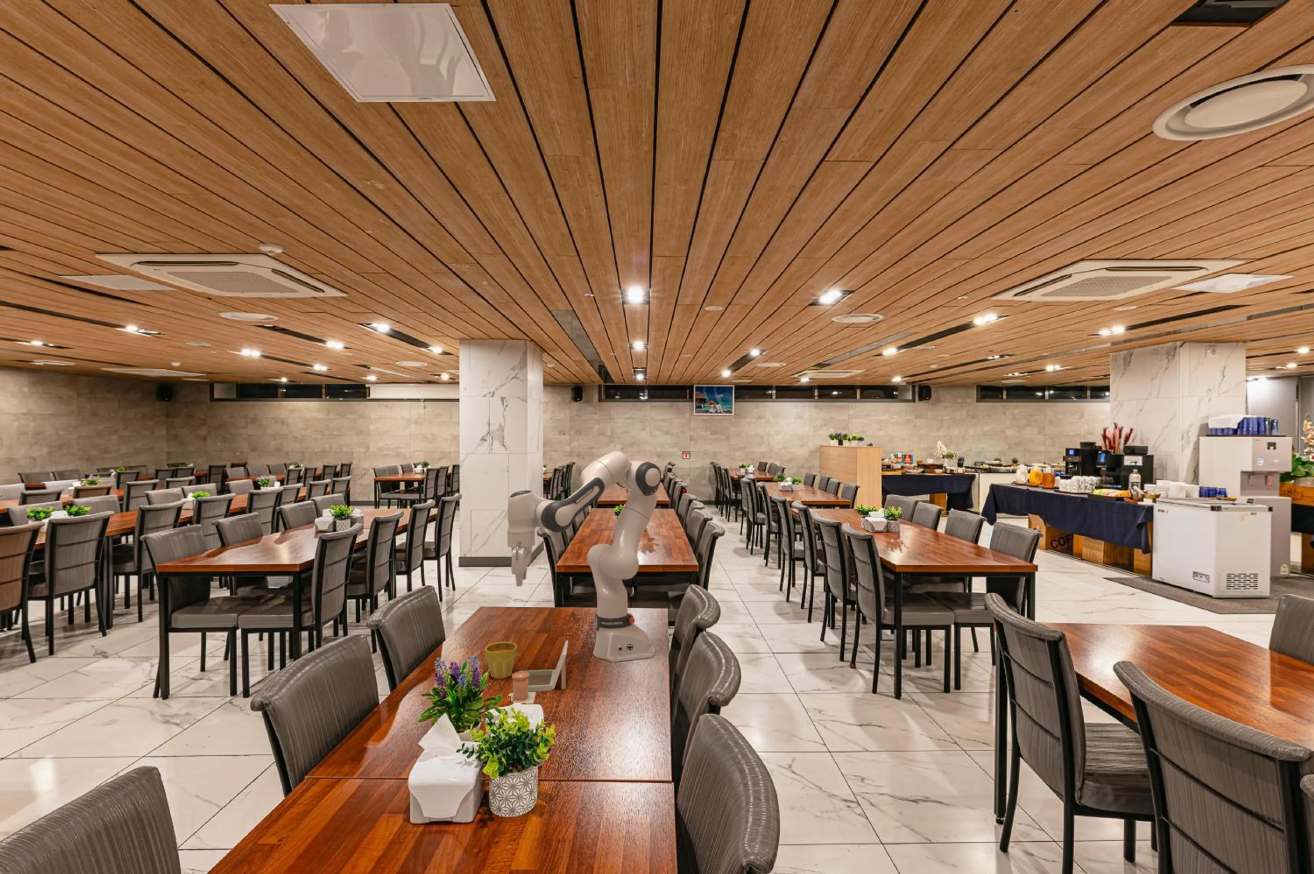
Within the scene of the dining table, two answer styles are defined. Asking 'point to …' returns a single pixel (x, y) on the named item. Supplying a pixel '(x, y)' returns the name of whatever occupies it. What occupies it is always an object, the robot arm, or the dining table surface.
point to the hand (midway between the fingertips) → (521, 582)
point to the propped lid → (561, 668)
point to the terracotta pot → (520, 685)
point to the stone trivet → (528, 701)
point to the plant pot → (501, 658)
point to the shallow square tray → (540, 680)
